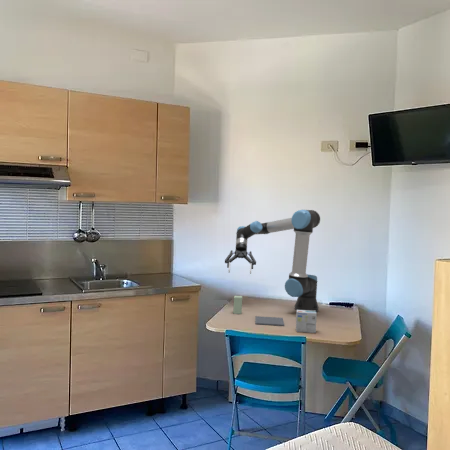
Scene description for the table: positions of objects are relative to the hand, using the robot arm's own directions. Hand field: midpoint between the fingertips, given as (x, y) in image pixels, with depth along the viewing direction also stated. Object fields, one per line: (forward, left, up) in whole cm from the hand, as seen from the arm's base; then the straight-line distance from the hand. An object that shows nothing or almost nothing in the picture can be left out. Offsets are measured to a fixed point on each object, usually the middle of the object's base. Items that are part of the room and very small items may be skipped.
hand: (239, 272), depth 296 cm
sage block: (0, +12, -23) cm, 26 cm away
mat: (-19, +29, -23) cm, 42 cm away
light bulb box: (-38, +44, -24) cm, 63 cm away
